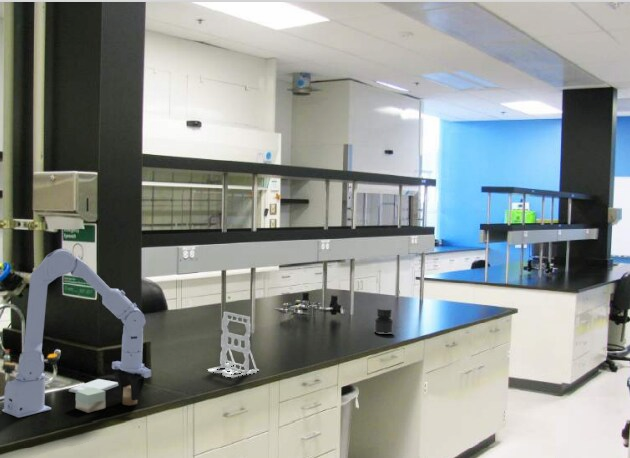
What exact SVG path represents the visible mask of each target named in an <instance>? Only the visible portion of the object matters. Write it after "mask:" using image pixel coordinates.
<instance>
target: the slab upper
mask: <svg viewBox="0 0 630 458" xmlns="http://www.w3.org/2000/svg"><path fill="white" fill-rule="evenodd" d="M104 400H106V390H105V391H103V390H100V389H97V388H94V387H92V388H88V389H83V390H79V391H76V393H75V402H76V401H79V402H82V403H85V404H92V403H96V402H100V401H104Z"/></svg>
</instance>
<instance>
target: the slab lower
mask: <svg viewBox="0 0 630 458" xmlns="http://www.w3.org/2000/svg"><path fill="white" fill-rule="evenodd" d="M106 402H107V401H106V399H105V400H104V401H100V402H96V403H92V404H85V403H82V402H79V401H76V400H75V409H77V410H79V411H82V412H85V413H88V414H89V413H92V412H95V411H96V412H97V411H100V410H104V409H106Z"/></svg>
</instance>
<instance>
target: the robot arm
mask: <svg viewBox="0 0 630 458" xmlns="http://www.w3.org/2000/svg"><path fill="white" fill-rule="evenodd" d="M68 274H71V277H78V278H81V279H83V281H85V282H86V283H87V284H88V285H89V286H90V287H91V288H92V289H93V290H94V291H96V293H98V294H99V295H100V296H101V299H102V300H101V302H102V305H103V306H105V308H106V309H108V311H110V312H111V313H112V314H113V315H114V316H115V317H116V318H117V319H119V320H121V322H122V324H123V329H122V336H121V337H122V338H121V355H120V356H121V359H120V361H119V360H116V361H112V362H111V369H112V370H117V371H116V372H113V376H114V378H115V379H116V382H118V388H119V392H120V396H121V398H123V387H125V386H130V385H131V398H132V400H133V401H134V400H137V401H138V400H140V396H141V394H142V391H143V388H144V386H145V383H146V381H148V379H149V378H151V377H152V369H149V368H147V367H146V366H145V363H143V348H144V346H143V345H144V326H145V325H146V323H147V320H146V317H145V315H144V313H143V312H142V311H141V310H140V309H139V307H137V306H138V305H137V304H136V302H132V301H131V300H130V299H129V298H128V297H127V296H126V292H125V291H124V290H123V289H121V290H120V289H119V288H111V287H110V286H109V285H108V284H106V282H105V281H104V280H103V279H102V278H101V277H100V276H99V275H98V274H97V273H96V271H94V270H93V268H91V267H90V266H89V265H88V264H87V263H86V262H85V261H84V260H82V258H81V259H80V258H79V257H78V256H76V255H75V256H74V254H73V253H72V252H71V250H69V249H67V248H58V249H55V250H53V251H52V252H50V253H49V254H47V255H46V256H45V257H44V258H43V260H42V261H41V262H40V263H39V265H38V266H37V267H35V269H34V270H32V273H31V274H30V277H29V287H28V289H29V290H28V300H27V310H26V320H25V322H26V323H25V333H24V343H23V350H22V353H21V354H20V356H19V358H18V365H17V374H16V376H15V378H14V379H12V380H11V381H8V382H6V384H5V386H4V398H3V409H1V410H2V412H3V413H6V414H8V415H11V416H14V417H15V418H22V417H27V416H31V415H35V414H38V413H42V412H46V411H51V410H52V407H50V406H48V405H46V404H45V398H46V397H45V395H46V393H45V392H46V374H45V372H44V370H45V363H44V362H45V356H44V354H43V351H42V349H43V340H44V339H43V338H44V329H45V316H46V304H47V295H48V286H49V284H51V283H52V282H53V281H55V280H56V279H57V278H59V277H61V276H64V275H68ZM133 374H134V375H133Z"/></svg>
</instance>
